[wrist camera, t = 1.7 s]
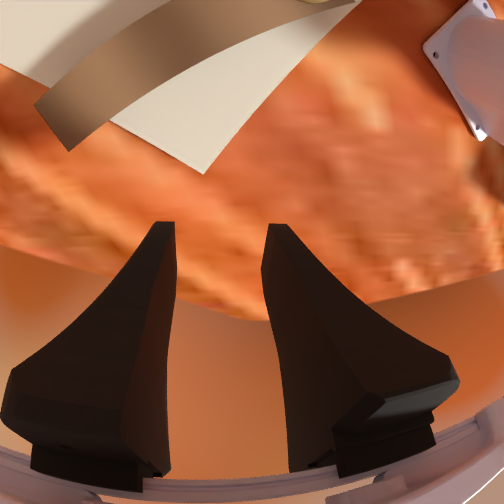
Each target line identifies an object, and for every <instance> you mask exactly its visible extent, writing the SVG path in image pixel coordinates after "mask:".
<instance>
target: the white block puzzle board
mask: <svg viewBox="0 0 504 504" xmlns="http://www.w3.org/2000/svg"><path fill="white" fill-rule="evenodd" d="M169 1H171V0H0V64H2V65H4V66H7V67H9V68H11V69H13V70H15V71H17V72H19V73H21V74H23V75H25V76H27V77H29V78H31V79H33V80H35V81H37V82H39V83H41V84H43V85H45V86H47V87H49V88H51V87H53V86H54V85H55V84H56V83H57V82H58V81H59V80H60V79H61V78H62V77H63V76H65V75H66V74H67V73H68V72H69V71H70V70H71V69H72V68H74V67H75V66H76V65H77V64H78V63H80V62H81V61H82V60H83V59H84V58H86V57H87V56H88V55H89V54H91V53H92V52H93V51H94V50H96V49H97V48H98V47H100V46H101V45H102V44H104V43H105V42H106V41H108V40H109V39H110V38H112V37H113V36H115V35H116V34H118V33H119V32H120V31H122V30H123V29H125V28H126V27H128V26H129V25H131V24H132V23H134V22H135V21H137V20H138V19H140V18H142V17H143V16H145V15H146V14H148V13H150V12H151V11H153V10H155V9H156V8H158V7H160V6H162V5H163V4H165V3H167V2H169ZM361 1H362V0H355V3H351V4H347V5H343V6H339V7H336V8H332V9H329V10H325V11H322V12H319V13H316V14H313V15H309V16H306V17H303V18H301V19H298V20H295V21H292V22H289V23H286V24H284V25H281V26H279V27H276V28H273V29H271V30H268V31H266V32H263V33H261V34H259V35H256V36H254V37H252V38H249V39H247V40H245V41H243V42H240V43H238V44H236V45H234V46H232V47H230V48H227V49H225V50H223V51H221V52H219V53H217V54H215V55H213V56H211V57H209V58H207V59H205V60H204V61H202V62H200V63H198V64H196V65H194V66H192V67H191V68H189V69H187V70H185V71H183V72H182V73H180V74H178V75H176V76H175V77H173V78H171V79H170V80H168V81H166V82H165V83H163V84H161V85H160V86H158V87H157V88H155V89H153V90H152V91H150V92H149V93H147V94H146V95H144V96H143V97H141V98H139V99H138V100H136V101H135V102H134V103H132V104H131V105H129V106H128V107H126V108H125V109H123V110H122V111H121V112H119V113H118V114H116V115H115V116H114V117H112V118H111V119H110V121H112V122H114V123H116V124H117V125H119V126H121V127H123V128H125V129H126V130H128V131H130V132H132V133H133V134H135V135H137V136H139V137H140V138H142V139H144V140H146V141H147V142H149V143H151V144H153V145H154V146H156V147H158V148H159V149H161V150H163V151H165V152H166V153H168V154H170V155H171V156H173V157H175V158H177V159H178V160H180V161H182V162H183V163H185V164H187V165H188V166H190V167H192V168H193V169H195V170H197V171H198V172H200V173H202V174H204V173H205V171H206V170H207V169H208V168H209V166H210V165H211V164H212V162H213V161H214V160H215V159H216V157H217V156H218V155H219V154H220V152H221V151H222V150H223V149H224V147H225V146H226V145H227V144H228V142H229V141H230V140H231V139H232V138H233V136H234V135H235V134H236V133H237V132H238V130H239V129H240V128H241V127H242V126H243V124H244V123H245V122H246V121H247V120H248V118H249V117H250V116H251V115H252V114H253V113H254V111H255V110H256V109H257V108H258V107H259V106H260V105H261V103H262V102H263V101H264V100H265V99H266V98H267V97H268V95H269V94H270V93H271V92H272V91H273V90H274V89H275V88H276V87H277V85H278V84H279V83H280V82H281V81H282V80H283V79H284V78H285V77H286V76H287V75H288V73H289V72H290V71H291V70H292V69H293V68H294V67H295V66H296V65H297V64H298V63H299V62H300V61H301V60H302V59H303V58H304V57H305V56H306V54H307V53H308V52H309V51H310V50H311V49H312V48H313V47H314V46H315V45H316V44H317V43H318V42H319V41H320V40H321V39H322V38H323V37H324V36H325V35H326V34H327V33H328V32H329V31H330V30H331V29H332V28H333V27H335V26H336V25H337V24H338V23H339V22H340V21H341V20H342V19H343V18H344V17H345V16H346V15H347V14H348V13H349V12H350V11H351V10H353V9H354V8H355V7H356V6H357V5H358V4H359V3H360V2H361Z"/></svg>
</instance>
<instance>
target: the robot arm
mask: <svg viewBox="0 0 504 504" xmlns="http://www.w3.org/2000/svg"><path fill="white" fill-rule="evenodd" d="M483 4H484V7H483ZM423 51H424V53H425V54H426V55H427V57H428V58H429V60H430V61H431V63H432V64H433V65H434V67H435V68H436V70H437V71H438V73H439V74H440V76H441V78H442V79H443V81H444V82H445V84H446V85H447V87H448V89H449V90H450V92H451V94H452V95H453V97H454V99H455V100H456V102H457V104H458V106H459V107H460V109H461V111H462V113H463V114H464V116H465V118H466V120H467V122H468V124H469V126H470V128H471V130H472V132H473V134H474V136H475V138H476V139H477V140H479V141H483V140H484V139H485V138H486V137H487V135H488V136H490V137H491V138H493V139H494V140H496V141H497V142H498V143H500V144H501V145H503V146H504V20H500V19H497V18H496V17H495V15H494V13H493V11H492V9H491V8H490V6H489V4H488V3H487V1H486V0H469V1H468V2H467V3H466V4H465V5H463V6H462V7H461V8H460V9H459V10H458V11H457V12H456V13H455V14H454V15H453V16H452V17H451V18H450V19H449V20H448V21H447V22H446V23H445V24H444V25H443V26H442V27H440V28H439V29H438V30H437V31H436V32H435V33H434V34H433V35H432V36H431V37H430V38H429V39H428V40H427V41H426V42H425V43H424V45H423ZM434 52H435V57H433V53H434ZM476 125H477V126H476ZM261 275H262V285H263V293H264V298H265V302H266V306H267V311H268V315H269V319H270V323H271V327H272V331H273V335H274V339H275V343H276V347H277V351H278V356H279V363H280V371H281V378H282V387H283V396H284V404H285V416H286V428H287V443H288V462H289V463H288V464H289V472H290V473H287V474H280V475H272V476H263V477H253V478H239V479H219V480H176V479H156V478H153V477H161V478H163V476H165V475H166V474H167V473H168V472H169V471H170V470H171V463H170V452H169V439H168V438H169V437H168V416H167V356H168V346H169V338H170V331H171V324H172V317H173V310H174V303H175V297H176V280H177V260H176V243H175V222H161V221H156V222H155V223H154V224H153V225H152V227H151V229H150V230H149V232H148V233H147V235H146V236H145V238H144V239H143V241H142V242H141V244H140V245H139V246H138V248H137V249H136V251H135V252H134V253H133V255H132V256H131V257H130V259H129V260H128V262H127V263H126V264H125V265H124V267H123V268H122V269H121V270H120V272H119V273H118V274H117V275H116V277H115V278H114V279H113V280H112V282H111V283H110V284H109V285H108V287H106V289H105V290H104V291H103V292H102V293H101V294H100V295H99V296H98V297H97V299H96V300H95V301H94V302H93V303H92V304H91V305H90V306H89V307H88V308H87V309H86V310H85V311H84V312H83V313H82V314H81V315H80V316H79V317H78V318H77V319H76V320H75V321H74V322H73V323H71V324H70V325H69V326H68V327H67V328H66V329H65V330H63V331H62V332H61V333H60V334H59V335H58V336H56V337H55V338H54V339H53V340H52V341H50V342H49V343H48V344H47V345H45V346H44V347H43V348H41V349H40V350H39V351H37V352H36V353H34V354H33V355H32V356H30V357H29V358H27V359H26V360H25V361H23V362H22V363H21V364H19V365H18V366H16V367H15V368H13V369H12V370H11V373H10V376H9V379H8V382H7V385H6V389H5V393H4V398H3V402H2V407H1V412H0V419H1V421H2V422H3V423H4V425H6V426H7V427H8V428H9V429H11V430H12V431H13V432H15V433H16V434H18V435H19V436H21V437H22V438H24V439H26V440H27V441H29V442H30V443H32V444H33V445H32V453H31V456H29V455H26V454H23V453H19V452H17V451H14V450H10V449H8V448H5V447H2V446H0V504H111V503H106V502H103V501H102V500H101V498H100V497H99V496H98V495H97V494H100V495H107V496H112V497H119V498H127V499H135V500H144V501H145V500H146V501H156V502H157V501H158V502H175V503H224V502H242V501H253V500H263V499H272V498H279V497H286V496H292V495H298V494H304V493H309V492H314V491H319V490H324V489H328V488H333V487H337V486H341V485H345V484H348V483H352V482H356V481H359V480H363V479H366V478H370V477H373V476H376V475H377V476H376V477H375V478H374V481H373V483H372V484H369V485H366V486H363V487H359V488H356V489H353V490H349V491H347V492H343V493H340V494H336V495H333V496H329V497H326V499H325V501H326V504H464V503H466V502H467V501H468V500H469V499H470V498H472V497H473V496H474V495H475V494H476V493H478V492H479V491H480V490H481V489H482V488H483V487H485V486H486V485H487V484H488V483H489V482H490V481H491V480H492V479H493V478H494V477H495V476H496V475H497V474H498V473H500V472H501V471H502V470H503V469H504V396H503V397H501V398H500V399H498V400H496V401H494V402H492V403H491V404H489V405H488V406H486V407H485V408H483V409H482V410H480V411H479V412H478V413H476V415H474V416H473V417H470V418H468V419H466V420H464V421H462V422H460V423H458V424H456V425H454V426H452V427H449V428H447V429H444V430H442V431H440V432H437V433H435V434H433V432H432V429H431V427H430V424H431V423H433V422H434V417H433V414H432V410H434V409H435V408H436V407H438V406H439V405H440V404H442V403H443V402H444V401H445V400H447V398H449V397H450V396H451V395H452V394H453V393H455V391H456V390H457V389H458V387H459V384H460V380H459V378H458V375H457V373H456V371H455V369H454V367H453V364H452V363H451V360H450V358H449V356H447V355H445V354H444V353H442V352H440V351H438V350H436V349H434V348H432V347H430V346H428V345H426V344H424V343H422V342H421V341H419V340H417V339H416V338H414V337H412V336H411V335H409V334H407V333H406V332H404V331H402V330H401V329H399V328H398V327H396V326H395V325H393V324H392V323H390V322H389V321H387V320H386V319H385V318H383V317H382V316H381V315H379V314H378V313H376V312H375V311H374V310H372V309H371V308H370V307H368V306H367V305H366V304H365V303H364V302H362V301H361V300H360V299H359V298H358V297H357V296H355V295H354V294H353V293H352V292H351V291H349V290H348V289H347V288H346V287H345V286H344V285H343V284H342V283H341V282H340V281H339V280H338V279H337V278H336V277H335V276H334V275H333V274H332V273H331V272H330V271H329V270H328V269H327V268H326V267H325V266H324V265H323V264H322V263H321V262H320V261H319V260H318V259H317V258H316V257H315V256H314V255H313V253H312V252H311V251H310V250H309V249H308V248H307V247H306V246H305V244H304V243H303V242H302V241H301V240H300V239H299V237H298V236H297V235H296V234H295V233H294V232H293V231H292V229H291V228H290V227H289V226H288V225H287V224H270V223H269V226H268V231H267V237H266V243H265V248H264V254H263V259H262V265H261ZM94 493H95V494H94Z"/></svg>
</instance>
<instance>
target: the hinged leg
mask: <svg viewBox="0 0 504 504" xmlns="http://www.w3.org/2000/svg"><path fill="white" fill-rule="evenodd" d="M351 3H355V0H171V1H169V2H167V3H165V4H163V5H162V6H160V7H158V8H156V9H155V10H153V11H151V12H150V13H148V14H146V15H145V16H143V17H142V18H140V19H138V20H137V21H135V22H134V23H132V24H131V25H129V26H128V27H126V28H125V29H123V30H122V31H120V32H119V33H118V34H116V35H115V36H113V37H112V38H110V39H109V40H108V41H106V42H105V43H104V44H102V45H101V46H100V47H98V48H97V49H96V50H94V51H93V52H92V53H91V54H89V55H88V56H87V57H86V58H84V59H83V60H82V61H81V62H80V63H78V64H77V65H76V66H75V67H74V68H72V69H71V70H70V71H69V72H68V73H67V74H66V75H65V76H63V77H62V78H61V79H60V80H59V81H58V82H57V83H56V84H55V85H54V86H53V87H51V88H50V89H49V90H48V91H47V92H46V93H45V94H44V95H43V96H42V97H41V98H40V99H39V100H38V101H37V102H36V103H35V104H34V106H35V107H36V109H37V110H38V112H39V113H40V114H41V116H42V117H43V119H44V120H45V121H46V123H47V124H48V125H49V127H50V128H51V129H52V131H53V132H54V134H55V135H56V136H57V138H58V139H59V140H60V141H61V143H62V144H63V145H64V147H65V148H66V149H67V151H68V152H69V151H70V150H72V149H73V148H74V147H75V146H76V145H78V144H79V143H80V142H81V141H82V140H84V139H85V138H86V137H87V136H89V135H90V134H91V133H92V132H94V131H95V130H96V129H98V128H99V127H100V126H102V125H103V124H104V123H105V122H107V121H108V120H110V119H111V118H112V117H114V116H115V115H116V114H118V113H119V112H121V111H122V110H123V109H125V108H126V107H128V106H129V105H131V104H132V103H134V102H135V101H136V100H138V99H139V98H141V97H143V96H144V95H146V94H147V93H149V92H150V91H152V90H153V89H155V88H157V87H158V86H160V85H161V84H163V83H165V82H166V81H168V80H170V79H171V78H173V77H175V76H176V75H178V74H180V73H182V72H183V71H185V70H187V69H189V68H191V67H192V66H194V65H196V64H198V63H200V62H202V61H204V60H205V59H207V58H209V57H211V56H213V55H215V54H217V53H219V52H221V51H223V50H225V49H227V48H230V47H232V46H234V45H236V44H238V43H240V42H243V41H245V40H247V39H249V38H252V37H254V36H256V35H259V34H261V33H263V32H266V31H268V30H271V29H273V28H276V27H279V26H281V25H284V24H286V23H289V22H292V21H295V20H298V19H301V18H303V17H306V16H309V15H313V14H316V13H319V12H322V11H325V10H329V9H332V8H336V7H339V6H343V5H347V4H351Z"/></svg>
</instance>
